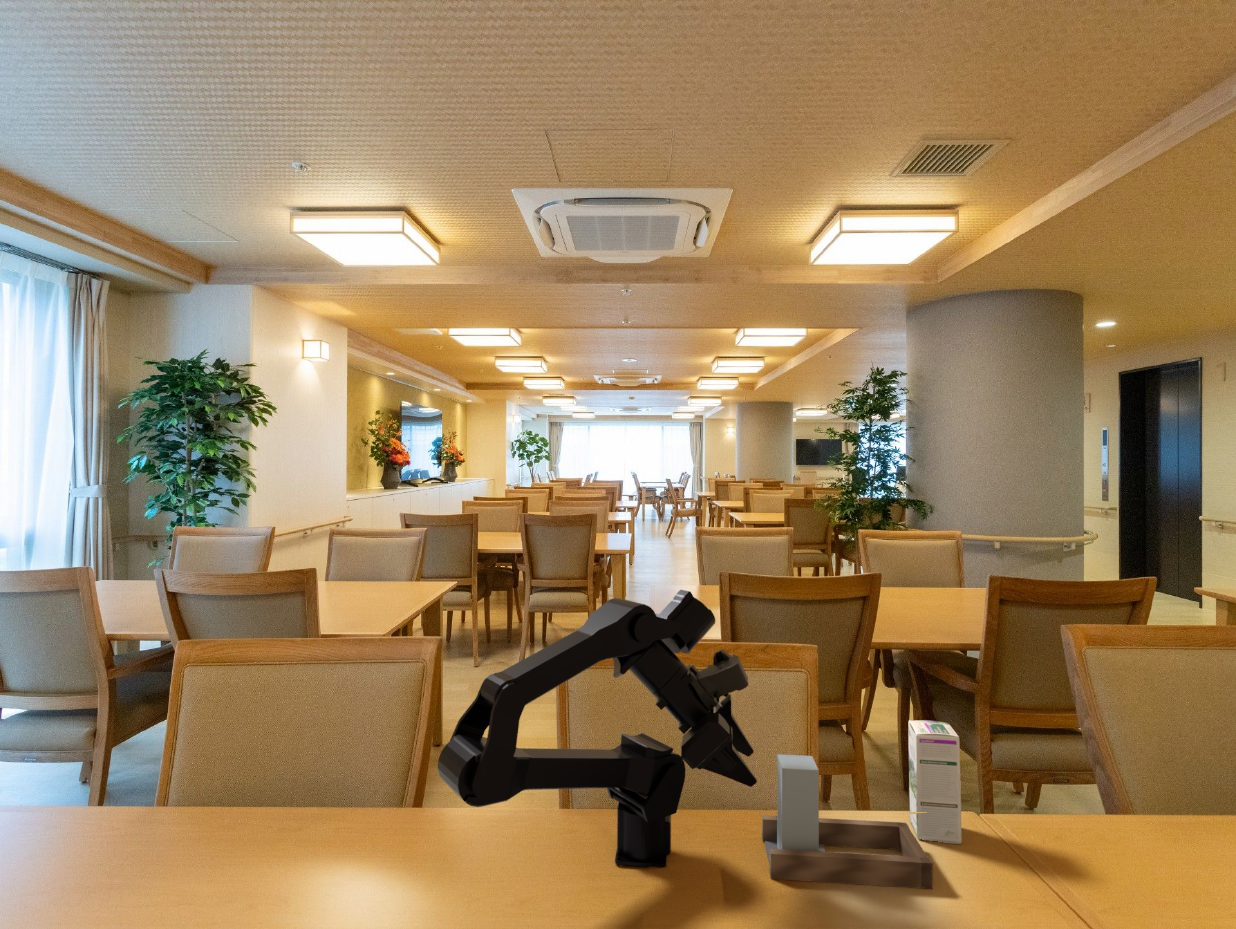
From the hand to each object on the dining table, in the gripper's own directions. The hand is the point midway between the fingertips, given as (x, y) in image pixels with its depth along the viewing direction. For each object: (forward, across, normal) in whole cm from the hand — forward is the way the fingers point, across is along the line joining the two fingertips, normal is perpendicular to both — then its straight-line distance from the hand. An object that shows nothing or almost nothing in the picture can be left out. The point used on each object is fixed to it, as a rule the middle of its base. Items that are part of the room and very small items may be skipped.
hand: (752, 768), depth 89 cm
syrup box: (+26, +11, -9) cm, 30 cm away
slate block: (+12, +1, +4) cm, 13 cm away
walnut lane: (+16, +1, 0) cm, 16 cm away
